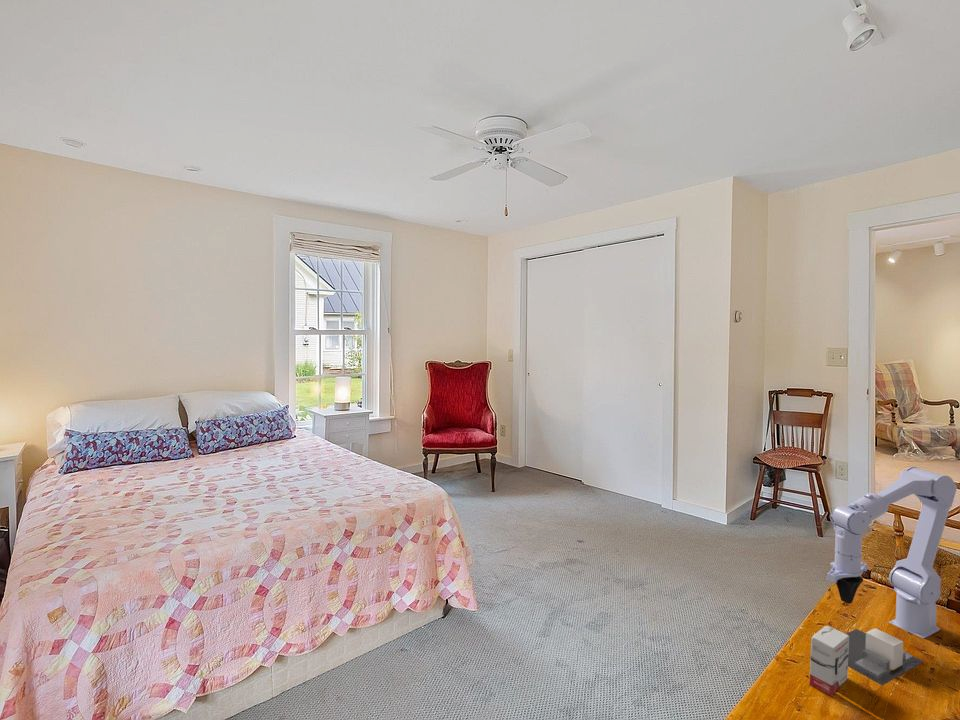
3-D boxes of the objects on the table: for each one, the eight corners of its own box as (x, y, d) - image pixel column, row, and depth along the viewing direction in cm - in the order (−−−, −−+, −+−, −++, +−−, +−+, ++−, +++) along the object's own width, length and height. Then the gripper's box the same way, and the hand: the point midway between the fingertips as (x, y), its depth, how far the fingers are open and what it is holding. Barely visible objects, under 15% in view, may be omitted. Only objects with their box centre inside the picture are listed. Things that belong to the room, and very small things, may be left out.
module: (874, 650, 128) (875, 628, 127) (902, 664, 122) (903, 641, 122) (865, 655, 126) (866, 632, 126) (893, 670, 121) (893, 646, 120)
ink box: (832, 697, 114) (833, 647, 114) (808, 684, 119) (809, 636, 118) (848, 682, 119) (850, 634, 118) (825, 670, 123) (826, 623, 122)
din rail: (856, 631, 138) (856, 618, 138) (923, 664, 124) (923, 649, 124) (815, 651, 130) (815, 637, 130) (881, 688, 117) (882, 672, 116)
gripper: (847, 541, 141) (846, 587, 142) (815, 552, 135) (814, 601, 136) (876, 551, 134) (874, 600, 135) (844, 563, 128) (842, 614, 129)
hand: (846, 601), depth 135 cm, fingers closed
